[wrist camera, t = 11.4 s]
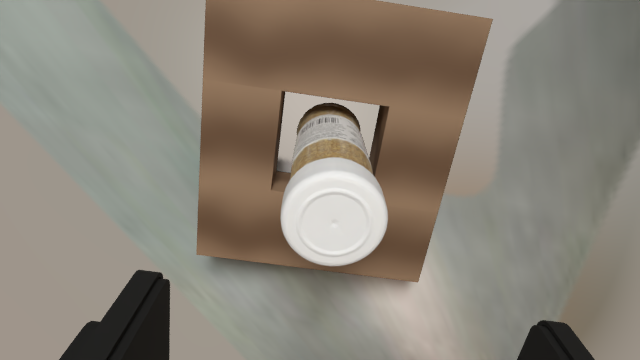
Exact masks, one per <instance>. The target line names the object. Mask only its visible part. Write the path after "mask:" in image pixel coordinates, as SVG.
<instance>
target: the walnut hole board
mask: <svg viewBox="0 0 640 360" xmlns="http://www.w3.org/2000/svg"><path fill="white" fill-rule="evenodd" d="M492 20H493V19H489V18H483V17H477V16H470V15H464V14H457V13H452V12H446V11H439V10H432V9H426V8H420V7H414V6H408V5H402V4H395V3H389V2H383V1H376V0H206V11H205V38H204V65H203V66H204V68H203V93H202V120H201V147H200V174H199V201H198V228H197V255H205V256H213V257H221V258H229V259H237V260H245V261H252V262H260V263H268V264H276V265H284V266H292V267H300V268H308V269H316V270H324V271H332V272H340V273H348V274H356V275H364V276H372V277H380V278H388V279H396V280H404V281H412V282H418V281H419V277H420V274H421V270H422V267H423V263H424V260H425V256H426V253H427V249H428V246H429V242H430V238H431V235H432V231H433V228H434V224H435V221H436V217H437V214H438V210H439V207H440V203H441V200H442V196H443V193H444V189H445V186H446V182H447V179H448V175H449V172H450V168H451V164H452V161H453V158H454V154H455V150H456V147H457V143H458V140H459V136H460V133H461V129H462V125H463V122H464V118H465V115H466V112H467V108H468V104H469V101H470V98H471V94H472V91H473V87H474V84H475V80H476V77H477V73H478V69H479V66H480V62H481V59H482V55H483V52H484V48H485V45H486V41H487V38H488V34H489V31H490V27H491V24H492ZM285 91H286V92H293V93H300V94H307V95H315V96H321V97H327V98H334V99H342V100H348V101H355V102H362V103H368V104H376V105H380V108H379V113H378V118H377V123H376V128H375V133H374V138H373V142H372V147H371V152H370V157H369V160H370V163H371V167H372V173H373V176H374V177H375V178H376V180H377V181H378V183H379V185H380V187H381V189H382V192H383V195H384V198H385V202H386V206H387V211H388V223H387V229H386V232H385V234H384V236H383V238H382V240H381V242H380V243H379V245H378V246H377V247H376V248H375V249H374V250H373V251H372V252H371V253H370V254H369V255H368V256H366V257H365V258H363V259H361V260H359V261H357V262H354V263H352V264H348V265H343V266H324V265H319V264H316V263H313V262H310V261H308V260H306V259H304V258H303V257H301V256H300V255H299V254H297V253H296V252H295V251H294V250H293V249H292V248H291V247H290V245H289V244H288V242H287V240H286V239H285V236H284V234H283V231H282V227H281V219H280V217H281V206H282V200H283V195H284V192H285V188H286V186H287V184H288V183H289V181H290V177H291V173H286V172H279V171H276V169H277V160H278V151H279V150H278V149H279V142H280V132H281V123H282V115H283V106H284V98H285Z"/></svg>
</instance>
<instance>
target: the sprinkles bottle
mask: <svg viewBox="0 0 640 360" xmlns="http://www.w3.org/2000/svg"><path fill="white" fill-rule="evenodd" d="M280 219H281V227H282V231H283V234H284V236H285V239H286V240H287V242H288V244H289V245H290V247H291V248H292V249H293V250H294V251H295V252H296V253H297V254H299V255H300V256H301V257H303V258H304V259H306V260H308V261H310V262H313V263H316V264H319V265H324V266H343V265H348V264H352V263H354V262H357V261H359V260H361V259H363V258H365V257H366V256H368V255H369V254H370V253H371V252H372V251H373V250H374V249H375V248H376V247H377V246H378V245H379V243H380V242H381V240H382V238H383V236H384V234H385V232H386V229H387V223H388V211H387V206H386V202H385V198H384V195H383V192H382V189H381V187H380V185H379V183H378V181H377V180H376V178H375V177H374V176H373V173H372V167H371V163H370V160H369V158H368V154H367V151H366V148H365V144H364V141H363V138H362V135H361V133H360V125H359V122H358V120H357V118H356V116H355V115H354V114H353V113H352V112H351V111H350V110H349V109H347V108H346V107H344V106H342V105H339V104H335V103H323V104H320V105H316V106H314V107H313V108H312V109H309V110H308V111H307V112H306V113H305V114H304V116H303V117H302V118H301V120H300V122H299V125H298V128H297V140H296V145H295V150H294V155H293V160H292V169H291V177H290V181H289V183H288V184H287V186H286V188H285V192H284V195H283V200H282V206H281V217H280Z"/></svg>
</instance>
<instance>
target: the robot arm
mask: <svg viewBox="0 0 640 360" xmlns="http://www.w3.org/2000/svg"><path fill="white" fill-rule="evenodd" d="M169 319H170V282H169V280H167V279H163V275H162V273H160V272H152V271H144V270H138V271H136V272H135V274H134V275H133V276H132V278H131V279H130V281H129V282H128V284H127V285H126V286H125V288H124V289H123V291H122V292H121V293H120V295H119V296H118V298H117V299H116V301H115V302H114V303H113V305H112V306H111V308H110V309H109V310H108V312H107V313H106V315H105V316H104V317H103V319H102V321H101V322H96V321H91V322H89V323H87V324H86V325H85V326H84V327H83V328H82V330H81V331H80V332H79V334H78V335H77V336H76V338H75V339H74V340H73V342H72V343H71V344H70V346H69V347H68V349H67V350H66V351H65V352H64V354H63V355H62V356H61V358H60V359H59V360H169V327H170V326H169V325H170V322H169V321H170V320H169ZM517 360H594V358H593V357H592V355H591V354H590V353H589V352H588V350H587V349H586V348H585V346H584V345H583V344H582V342H581V341H580V340H579V338H578V337H577V336H576V334H575V333H574V332H573V331H572V329H571V328H570V327H569V326H568V325H567V324H565V323H561V322H553V321H545V320H543V321H540V322H538V324H537V325H534V326H532V328H531V329H530V331H529V334H528V336H527V338H526V340H525V343H524V345H523V347H522V350H521V352H520V354H519V356H518V359H517Z"/></svg>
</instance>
